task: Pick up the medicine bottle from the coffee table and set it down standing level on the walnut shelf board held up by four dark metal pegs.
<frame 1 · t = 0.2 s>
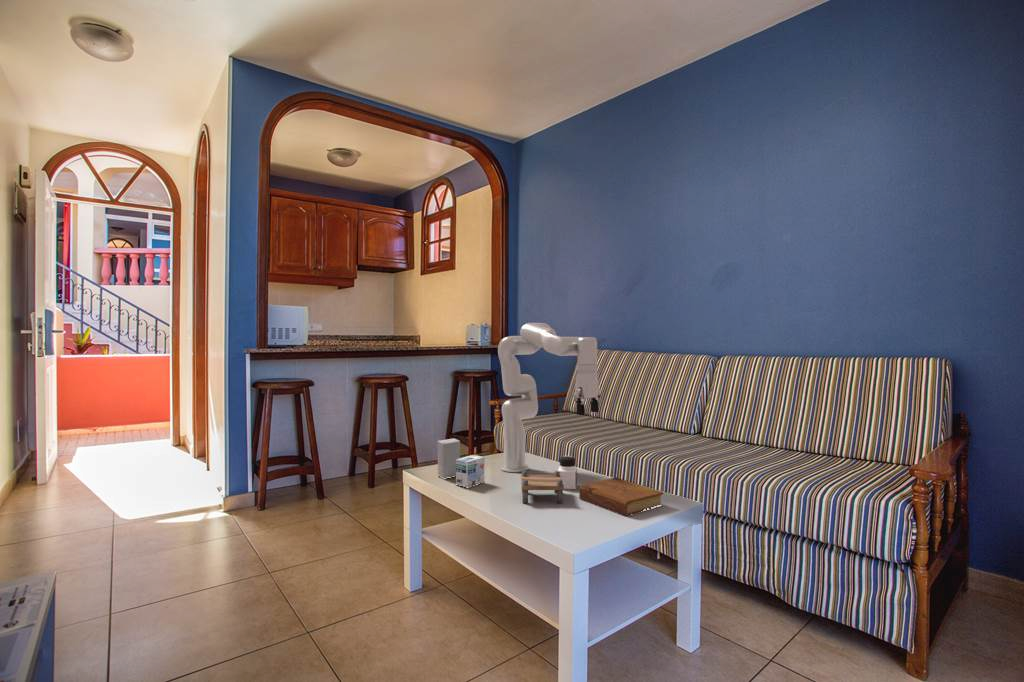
hand: (587, 413, 203), 30 cm above the table, tool pointing down, fingers open, 9 cm apart
light bulb box: (470, 484, 214), on the table
shelf stand: (541, 497, 196), on the table
diary: (620, 504, 190), on the table
medicine bottle: (567, 487, 210), on the table
skincare box: (449, 477, 225), on the table
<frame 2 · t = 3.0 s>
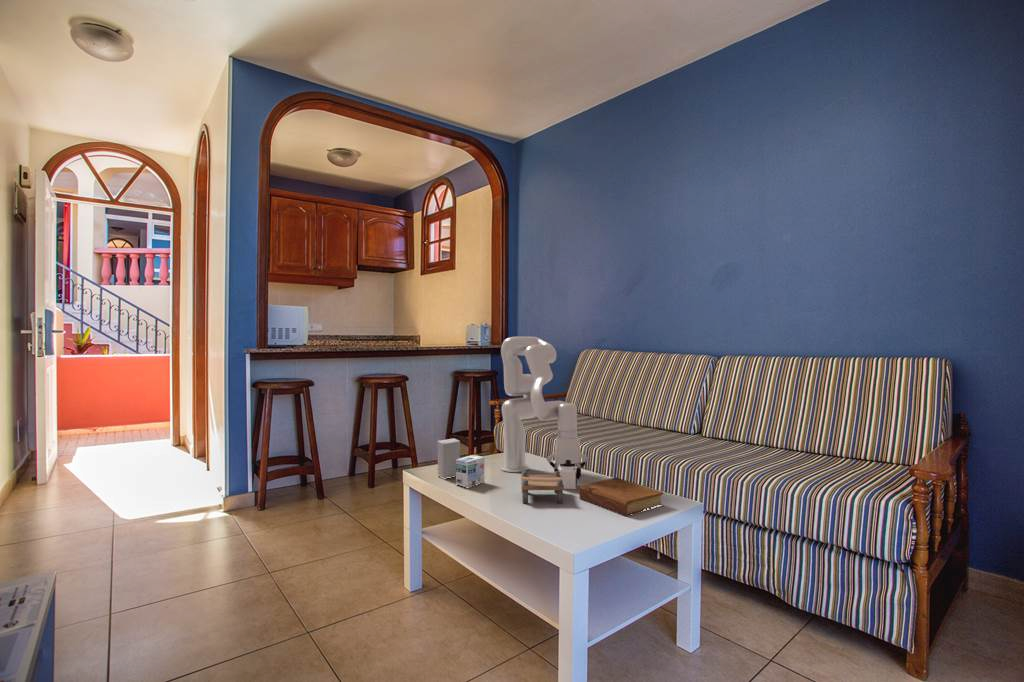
hand: (567, 478, 209), 3 cm above the table, tool pointing down, fingers closed on medicine bottle, 7 cm apart
medicine bottle: (567, 487, 210), on the table, touching gripper
everything else where it was.
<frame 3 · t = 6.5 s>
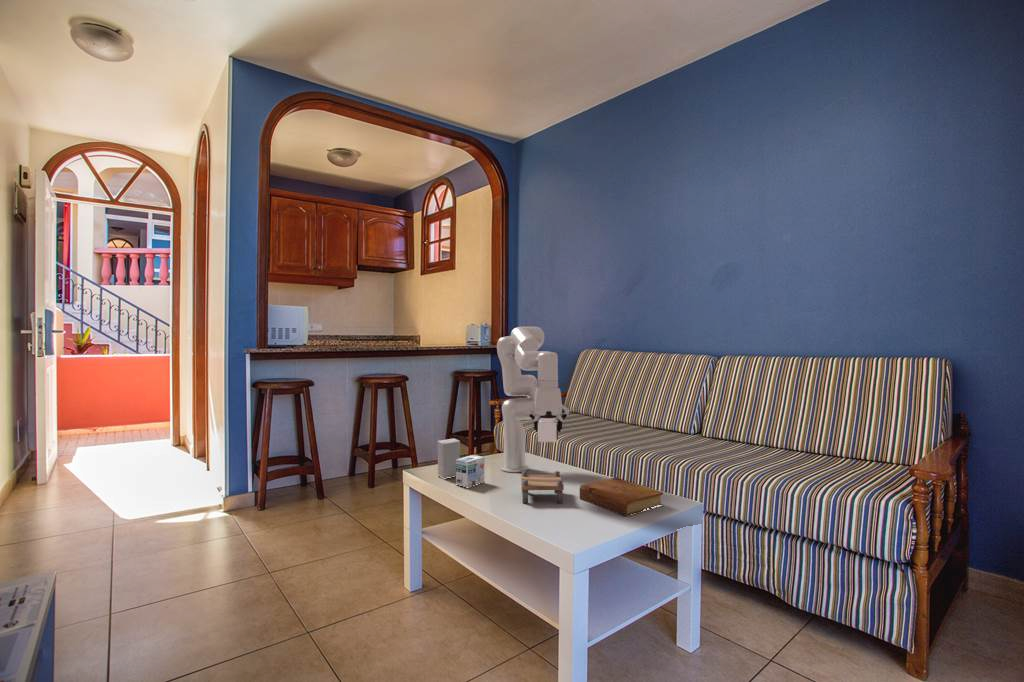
hand: (548, 431, 199), 24 cm above the table, tool pointing down, fingers closed on medicine bottle, 7 cm apart
medicine bottle: (548, 440, 199), point 20 cm above the table, touching gripper
everything else where it was.
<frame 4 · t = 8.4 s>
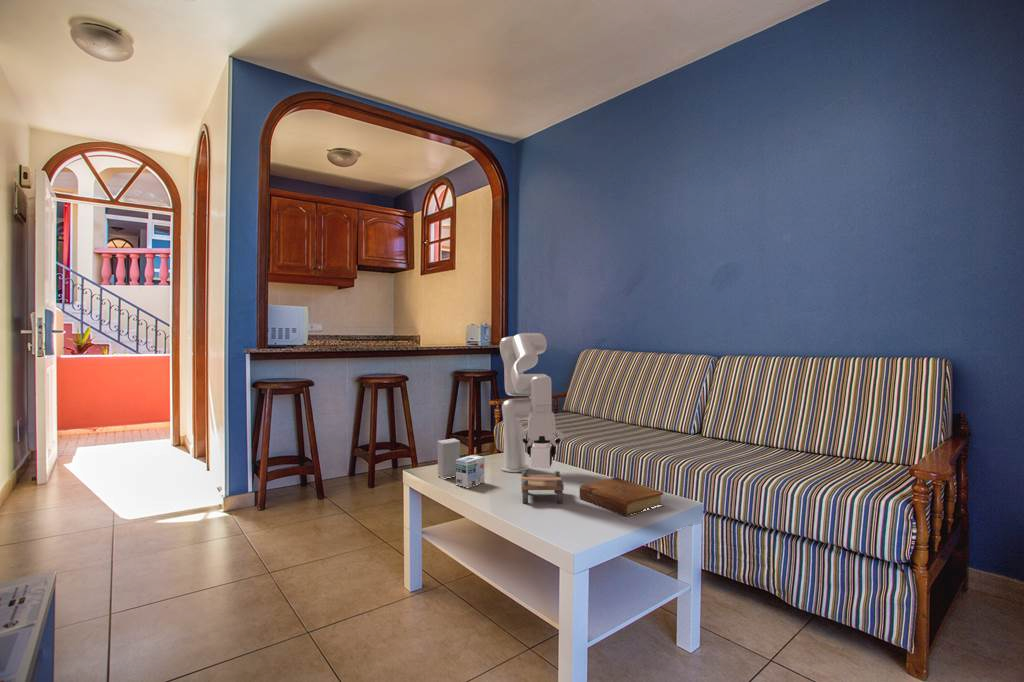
hand: (541, 456, 195), 15 cm above the table, tool pointing down, fingers closed on medicine bottle, 7 cm apart
medicine bottle: (541, 466, 195), point 12 cm above the table, touching gripper
everything else where it was.
when the fingers open (11 cm above the table, at t = 10.2 s): medicine bottle drops 1 cm, resting on shelf stand.
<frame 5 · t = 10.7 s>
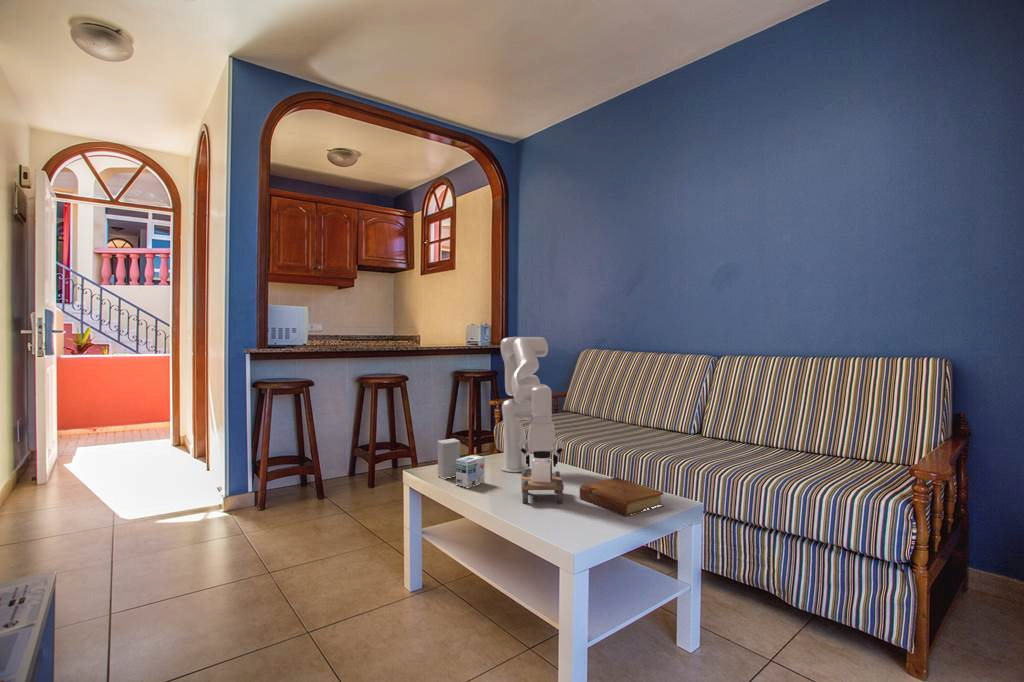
hand: (541, 465, 196), 12 cm above the table, tool pointing down, fingers open, 9 cm apart
medicine bottle: (541, 480, 196), point 6 cm above the table, touching shelf stand
everything else where it was.
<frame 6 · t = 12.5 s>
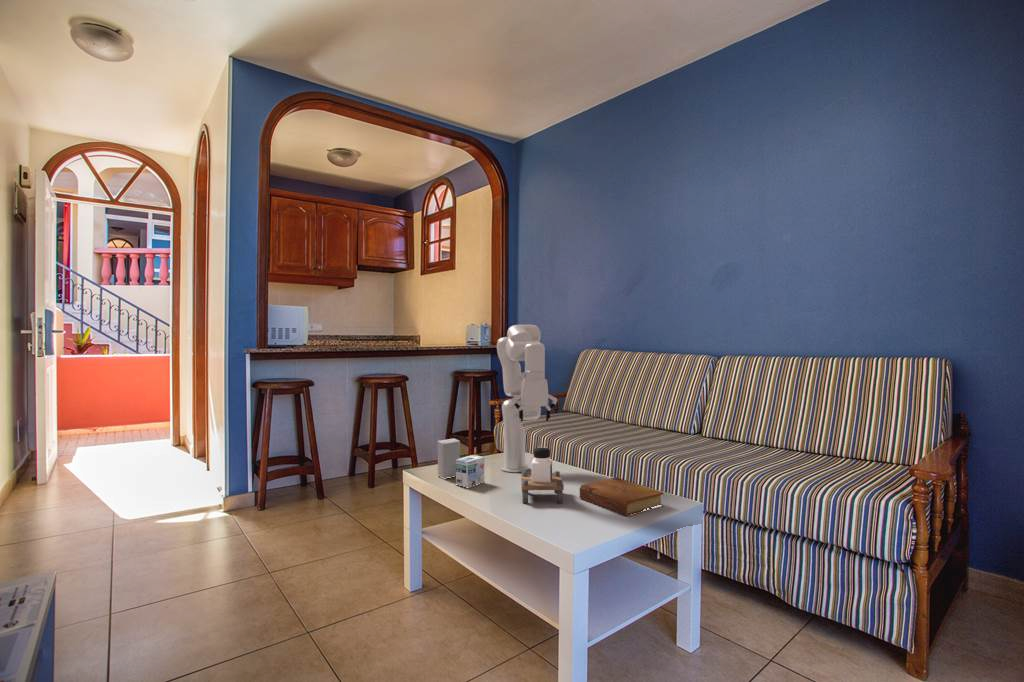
hand: (534, 420, 200), 28 cm above the table, tool pointing down, fingers open, 9 cm apart
nothing on the table moved.
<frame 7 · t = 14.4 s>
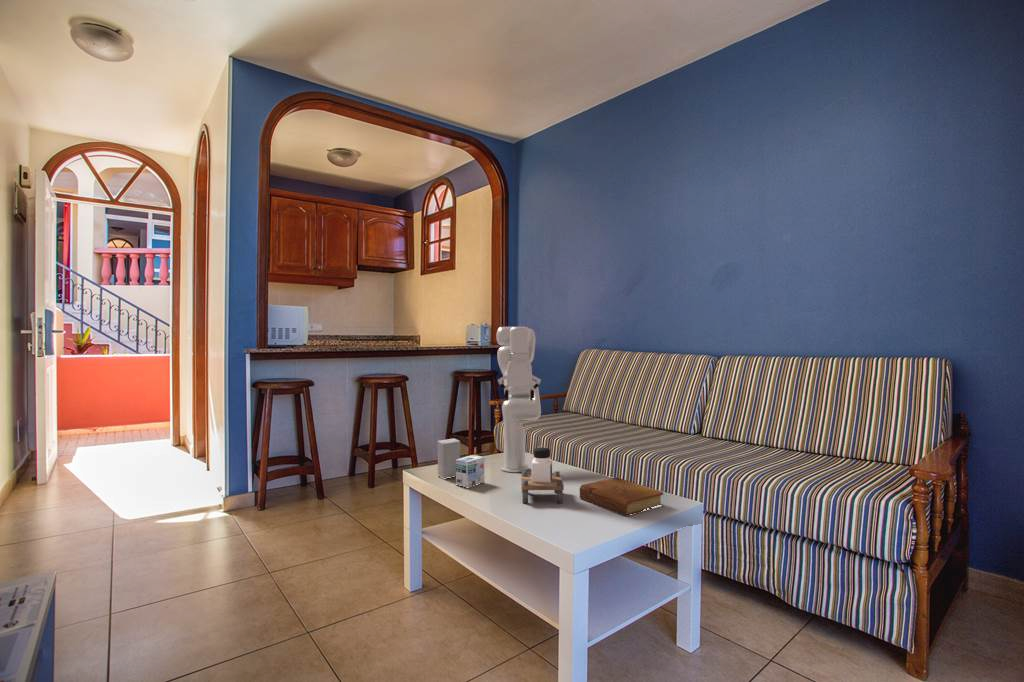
hand: (519, 400, 211), 34 cm above the table, tool pointing down, fingers open, 9 cm apart
nothing on the table moved.
at the end: medicine bottle inside the target area on the shelf stand (0.2 cm from its centre), point 6.3 cm above the shelf stand's base; medicine bottle tilted 0°; the gripper is holding nothing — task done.
